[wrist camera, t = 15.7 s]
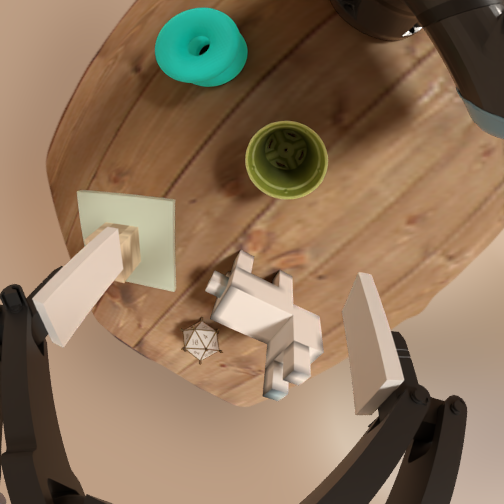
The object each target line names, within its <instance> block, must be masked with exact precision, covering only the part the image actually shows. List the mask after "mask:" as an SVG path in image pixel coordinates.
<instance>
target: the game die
mask: <svg viewBox="0 0 504 504" xmlns="http://www.w3.org/2000/svg"><path fill="white" fill-rule="evenodd" d="M179 329H180V331H183V339H184V347H183V348H182V349H181V350H184V351H188V352H189V353H191V354H192V355H193V356H194V357H196V358H197V359H198V360H199V364H200V365H201V361H202V360H203V359H205V358H207V357H209V356H211V355H213V354H214V353H216V352H218V351H219V352H220V353H223V352H222V351H221V350H219V344H218V337H217V334H218V333H219V332H218V331H219V330H220V329H216V330H214V329H213V328H212V327H210V326H209V325H207V324H206V323H205V322H203V318H202V317H201V321H200V322H198V323H196V324H194V325H192V326H190V327H188V328H186V329H185V330H183V329H182V328H179Z"/></svg>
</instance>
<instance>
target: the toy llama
mask: <svg viewBox="0 0 504 504" xmlns="http://www.w3.org/2000/svg"><path fill="white" fill-rule="evenodd" d="M253 260H254V256H252V255H250V254H248V253H246V252H244V251H242V250H240V252H239V254H238V255H237V257H236V259H235V260H234V263H233V267H232V270H231V273H230V272H227V274H226V276H225V275H223V274H221V273H219V272H217V271H214V273H213V275H212V276H211V278H210V280H209V282H208V285H207V287H206V290H205V291H206V292H208V293H210V294H212V295H214V296H216V297H217V299H216V302H215V305H214V308H213V311H212V314H211V318H210V319H211V320H214V321H216V322H218V323H220V324H222V325H224V326H227V327H229V328H231V329H233V330H236V331H238V332H240V333H242V334H245V335H247V336H249V337H252V338H254V339H256V340H259V341H261V342H264V343H266V344H267V353H266V365H265V376H264V387H263V397H266V398H269V399H273V400H276V401H279V400H281V399H282V398H283V397H284V396H286V395H287V394H288V382H290V383H293V384H296V385H300V384H302V383H303V382H304V381H305V380H307V379H308V378H309V377H310V376H311V371H310V364H311V363H312V362H313V361H315V360H316V359H317V358H318V357H319V356H320V355H321V354H322V353H324V351H323V342H322V333H321V325H320V317H319V316H318V315H315V314H313V313H311V312H309V311H307V310H305V309H303V308H300V307H298V306H296V305H294V304H293V285H292V276H291V275H289V274H287V273H285V272H283V271H281V270H279V272H278V273H277V274H276V276H275V277H274V279H273V280H272V283H270V282H267V281H265V280H263V279H261V278H259V277H257V276H255V275H253V274H251V271H252V265H253Z"/></svg>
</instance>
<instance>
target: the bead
mask: <svg viewBox="0 0 504 504" xmlns="http://www.w3.org/2000/svg"><path fill="white" fill-rule="evenodd" d="M107 227H112V228H117V229H118V232H119V240H120V248H121V256H122V263H123V270H122V271H121V273H120V274H119V275H118V276H117V277H116V279H115V280H114V281H117V282H121V283H125V282H126V280H127V279H128V278H129V276H130V275H131V274H132V272H133V271H134V270H135V268H136V267H137V266H138V265H139V263H140V262H141V255H140V244H139V230H138V227H135V226H128V225H122V224H115V223H108V222H105V223H104V224H103V225H102V226H100V227H99V228H98V229H97V230H96V231H94V232H93V233H92V234H91V235H90V236H88V237H87V238H86V239H85V245H87V244H88V243H89V242H90V241H92V240H93V239H94V238H95V237H96V236H97V235H98V234H100V233H101V232H102V231H103V230H104V229H105V228H107Z"/></svg>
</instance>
